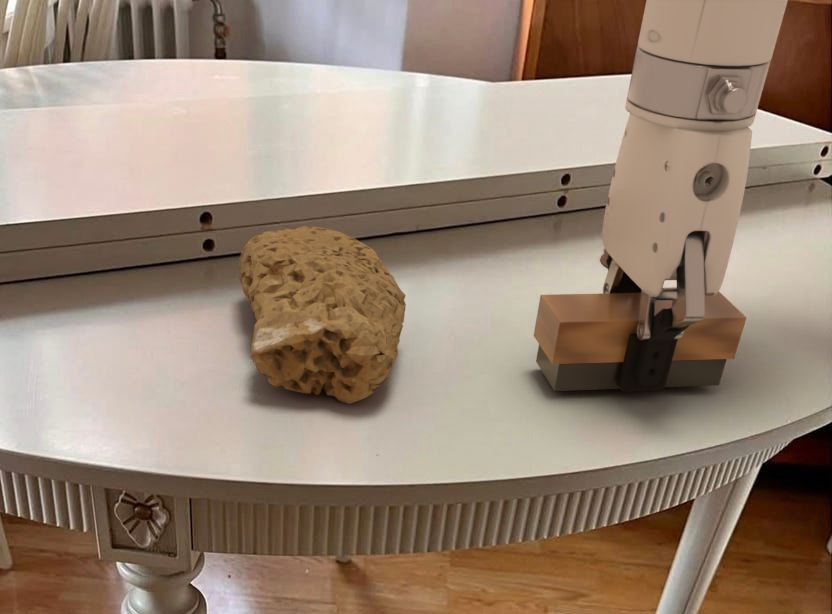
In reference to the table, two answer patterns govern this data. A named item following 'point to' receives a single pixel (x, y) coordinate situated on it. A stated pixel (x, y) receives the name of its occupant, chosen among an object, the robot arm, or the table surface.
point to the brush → (608, 337)
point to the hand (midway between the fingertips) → (627, 368)
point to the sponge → (321, 311)
